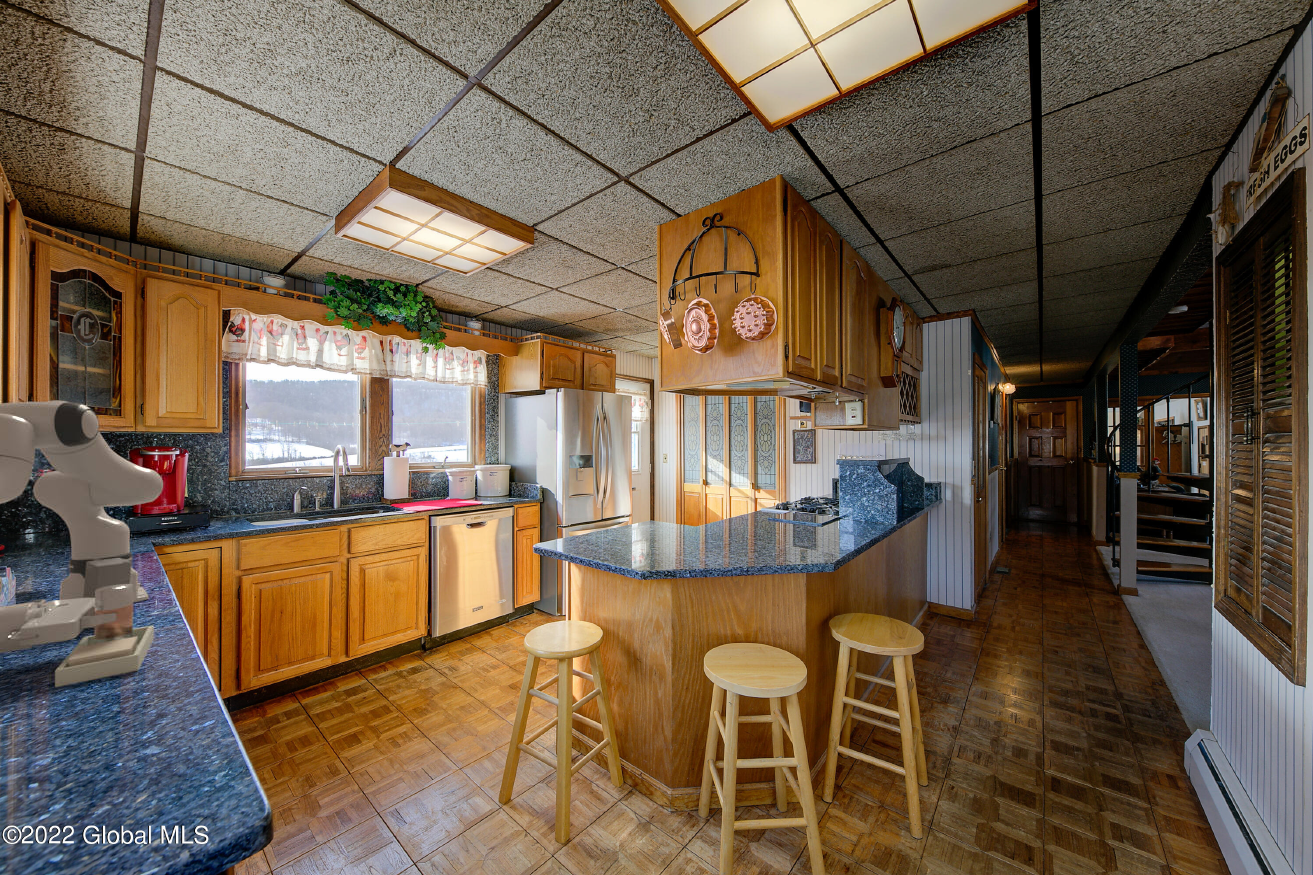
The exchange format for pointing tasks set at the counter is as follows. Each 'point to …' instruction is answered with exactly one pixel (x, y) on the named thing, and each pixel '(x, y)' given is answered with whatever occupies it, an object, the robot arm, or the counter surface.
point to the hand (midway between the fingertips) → (120, 611)
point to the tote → (105, 661)
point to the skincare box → (105, 574)
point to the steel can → (114, 601)
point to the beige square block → (103, 651)
